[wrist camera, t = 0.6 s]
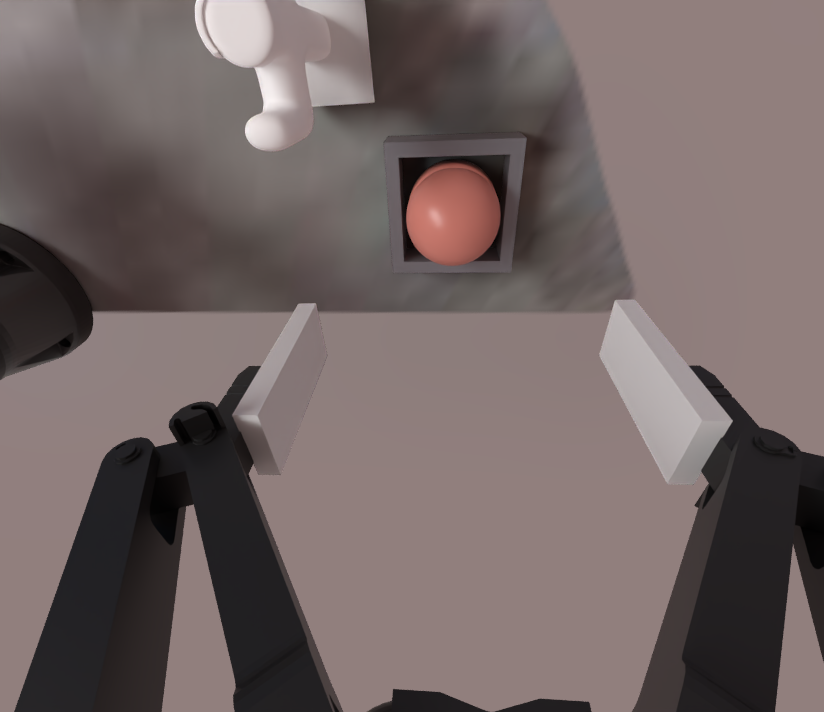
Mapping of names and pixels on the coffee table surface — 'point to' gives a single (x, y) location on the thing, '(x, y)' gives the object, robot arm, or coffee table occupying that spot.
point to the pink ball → (453, 212)
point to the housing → (455, 146)
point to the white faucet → (292, 58)
